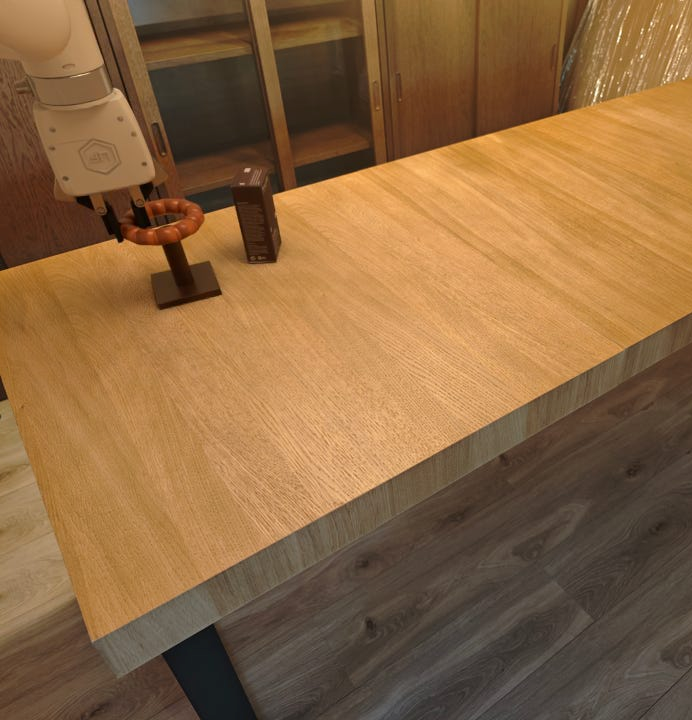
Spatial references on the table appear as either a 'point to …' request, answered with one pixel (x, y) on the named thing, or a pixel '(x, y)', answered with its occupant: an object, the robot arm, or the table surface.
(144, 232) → the ring
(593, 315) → the table surface
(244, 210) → the box
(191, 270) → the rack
